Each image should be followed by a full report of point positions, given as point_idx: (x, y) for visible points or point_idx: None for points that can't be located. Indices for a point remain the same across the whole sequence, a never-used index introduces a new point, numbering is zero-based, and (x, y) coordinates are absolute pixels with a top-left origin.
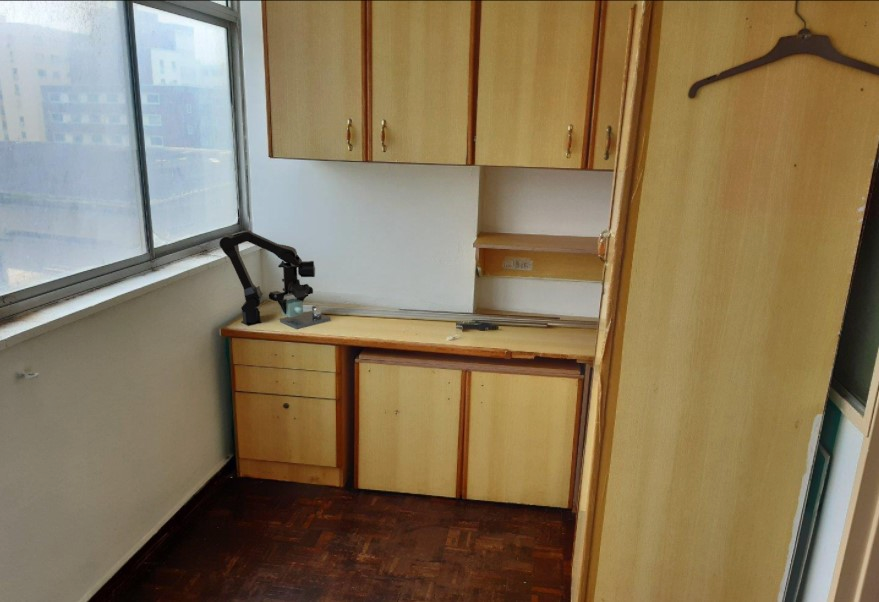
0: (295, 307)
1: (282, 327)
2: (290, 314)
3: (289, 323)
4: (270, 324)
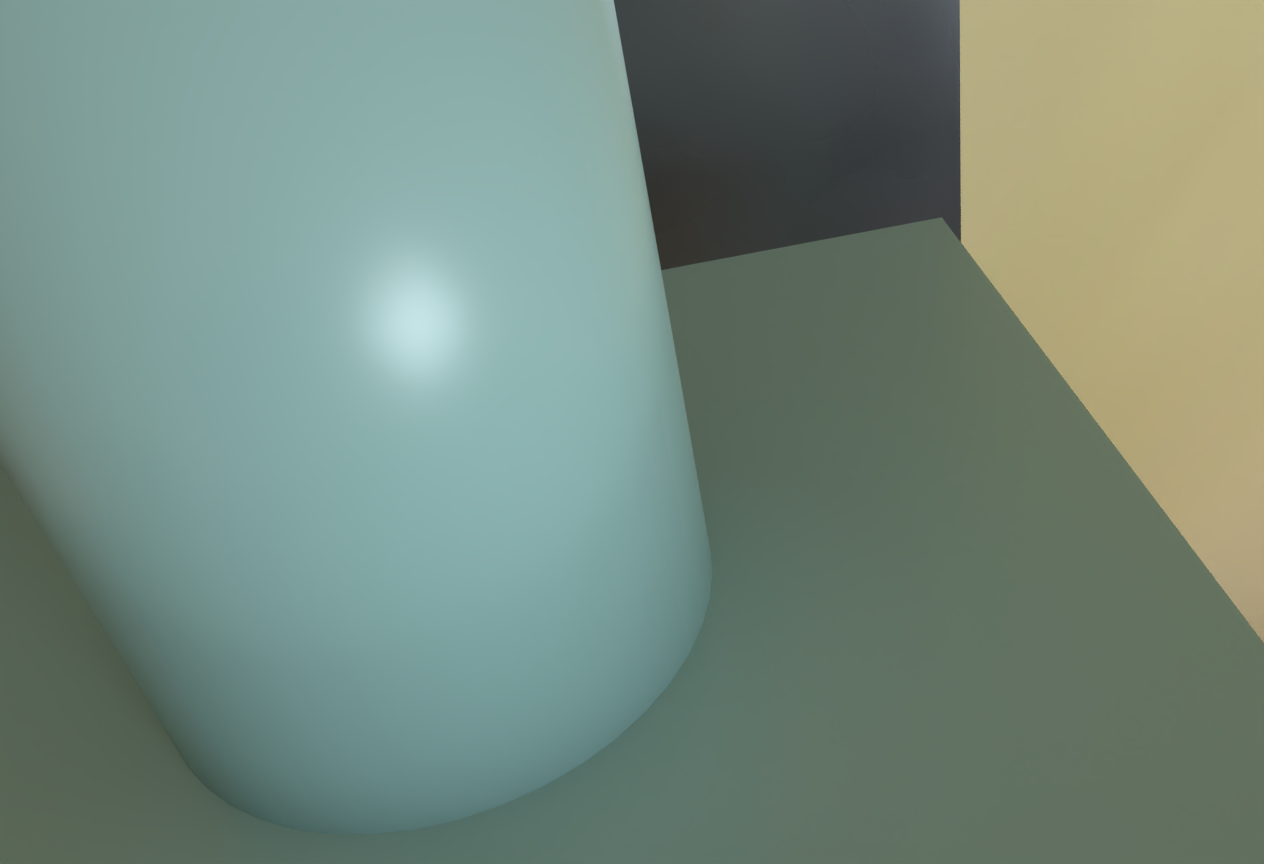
0: (555, 676)
1: (1179, 55)
2: (947, 325)
3: (950, 18)
4: (1252, 544)
